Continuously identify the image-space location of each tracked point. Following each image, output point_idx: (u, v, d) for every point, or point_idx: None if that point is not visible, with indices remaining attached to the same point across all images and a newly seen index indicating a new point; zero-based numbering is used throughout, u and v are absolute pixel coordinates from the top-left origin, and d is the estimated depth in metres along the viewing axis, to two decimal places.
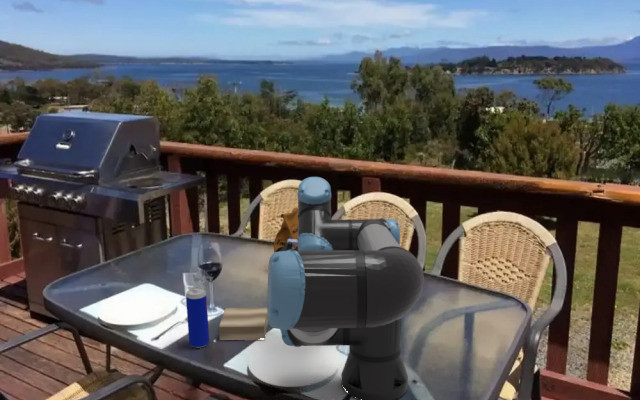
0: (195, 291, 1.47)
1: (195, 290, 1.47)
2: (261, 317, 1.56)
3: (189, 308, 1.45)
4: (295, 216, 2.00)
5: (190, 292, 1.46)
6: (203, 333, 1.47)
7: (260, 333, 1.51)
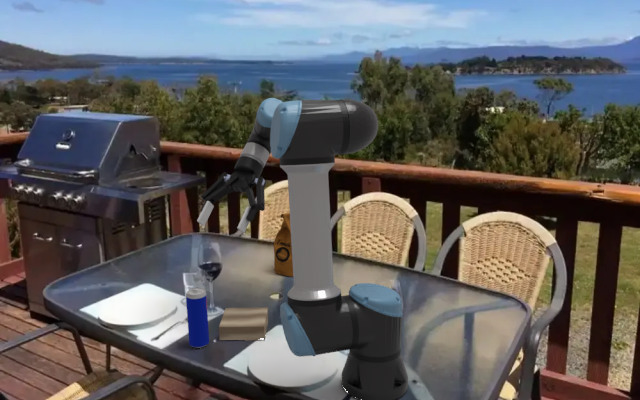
0: (195, 291, 1.47)
1: (195, 290, 1.47)
2: (261, 317, 1.56)
3: (189, 308, 1.45)
4: None
5: (190, 292, 1.46)
6: (203, 333, 1.47)
7: (260, 333, 1.51)
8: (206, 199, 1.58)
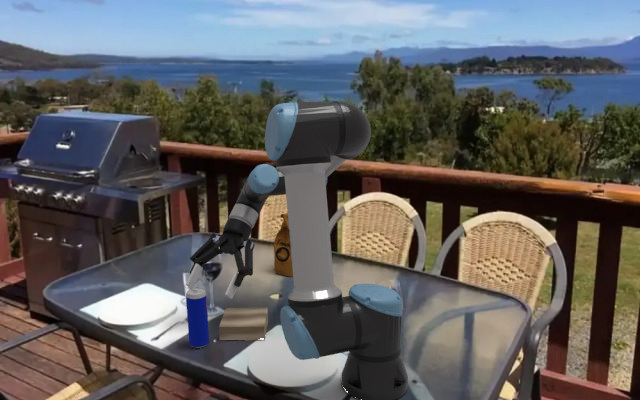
0: (195, 291, 1.47)
1: (195, 290, 1.47)
2: (261, 317, 1.56)
3: (189, 308, 1.45)
4: None
5: (190, 292, 1.46)
6: (203, 333, 1.47)
7: (260, 333, 1.51)
8: (195, 261, 1.58)
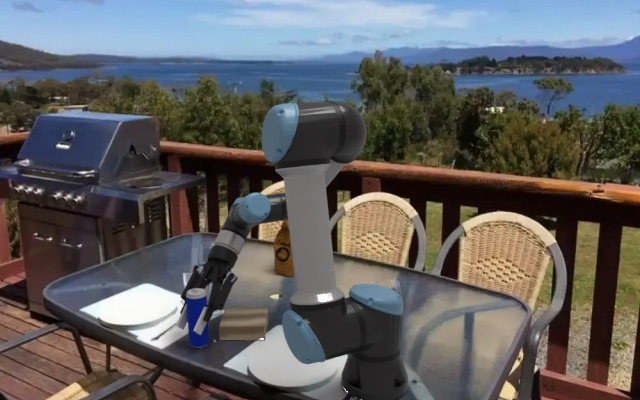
0: (195, 291, 1.47)
1: (195, 290, 1.47)
2: (261, 317, 1.56)
3: (189, 308, 1.45)
4: None
5: (190, 292, 1.46)
6: (203, 333, 1.47)
7: (260, 333, 1.51)
8: None
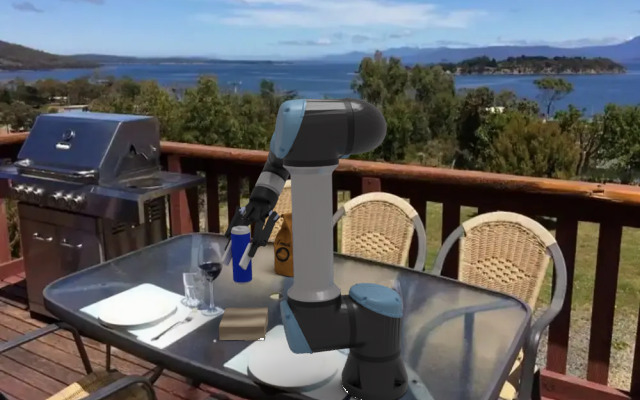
0: (239, 228, 1.51)
1: (239, 227, 1.52)
2: (261, 317, 1.56)
3: (234, 244, 1.50)
4: None
5: (235, 229, 1.50)
6: (247, 269, 1.51)
7: (260, 333, 1.51)
8: (230, 238, 1.53)
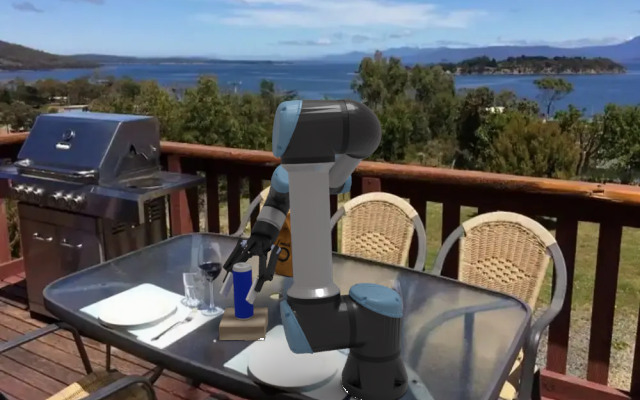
0: (241, 265, 1.54)
1: (241, 264, 1.54)
2: (261, 317, 1.56)
3: (236, 281, 1.52)
4: None
5: (236, 266, 1.53)
6: (249, 305, 1.54)
7: (260, 333, 1.51)
8: (228, 270, 1.57)
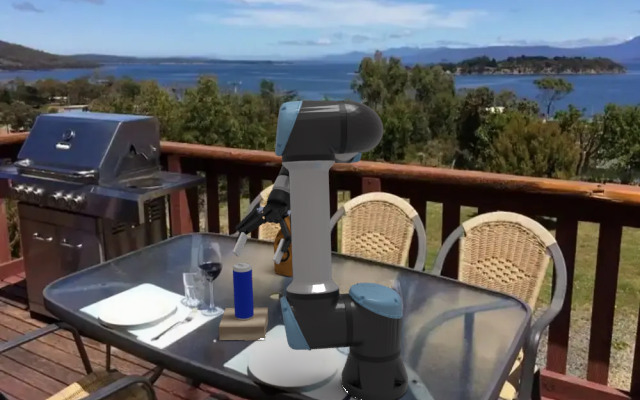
0: (241, 265, 1.54)
1: (241, 264, 1.54)
2: (261, 317, 1.56)
3: (236, 281, 1.52)
4: None
5: (237, 266, 1.53)
6: (249, 305, 1.54)
7: (260, 333, 1.51)
8: (240, 230, 1.64)
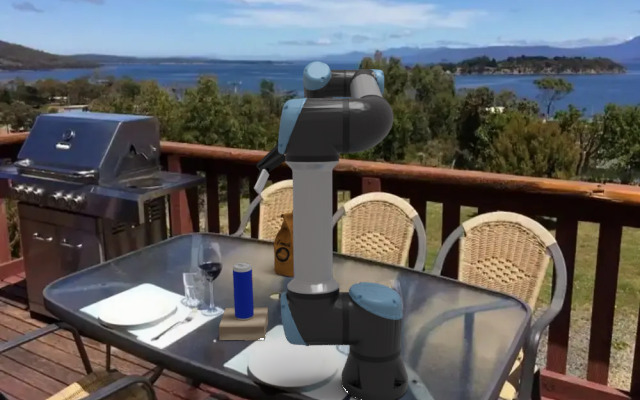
0: (241, 265, 1.54)
1: (241, 264, 1.54)
2: (261, 317, 1.56)
3: (236, 281, 1.52)
4: None
5: (237, 266, 1.53)
6: (249, 305, 1.54)
7: (260, 333, 1.51)
8: (262, 167, 1.58)
